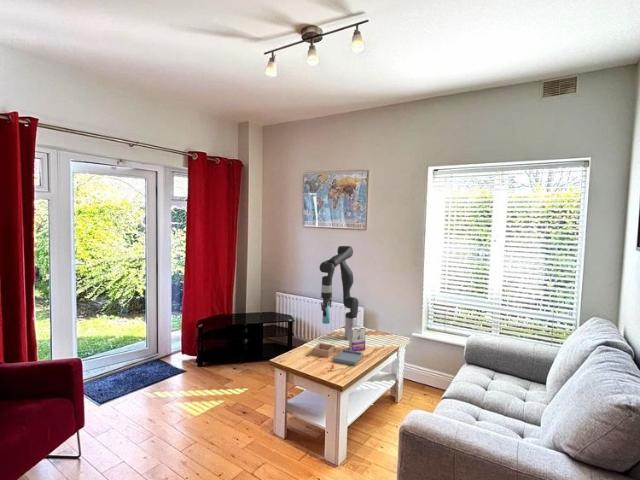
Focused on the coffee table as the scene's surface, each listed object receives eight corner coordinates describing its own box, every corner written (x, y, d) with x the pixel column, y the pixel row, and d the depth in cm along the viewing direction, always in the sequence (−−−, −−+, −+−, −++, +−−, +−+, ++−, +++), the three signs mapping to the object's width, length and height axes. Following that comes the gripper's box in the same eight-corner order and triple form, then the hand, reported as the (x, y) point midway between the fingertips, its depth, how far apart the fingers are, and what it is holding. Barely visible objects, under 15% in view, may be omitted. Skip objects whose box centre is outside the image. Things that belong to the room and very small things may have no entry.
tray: (342, 352, 243) (342, 349, 243) (362, 356, 237) (363, 352, 237) (333, 361, 226) (333, 358, 226) (354, 365, 220) (355, 362, 220)
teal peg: (324, 321, 243) (324, 304, 242) (330, 322, 241) (331, 305, 240) (321, 323, 238) (321, 306, 237) (327, 324, 236) (328, 307, 235)
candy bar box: (362, 347, 253) (362, 325, 252) (365, 349, 249) (366, 327, 248) (348, 349, 249) (349, 327, 248) (351, 351, 244) (352, 329, 244)
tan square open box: (319, 348, 249) (319, 342, 249) (334, 351, 244) (335, 345, 244) (312, 354, 238) (312, 348, 238) (328, 357, 233) (328, 351, 233)
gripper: (325, 288, 246) (325, 312, 247) (317, 292, 233) (317, 317, 234) (335, 290, 243) (334, 313, 244) (327, 293, 230) (327, 318, 231)
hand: (326, 315), depth 239 cm, fingers closed on teal peg, 5 cm apart
